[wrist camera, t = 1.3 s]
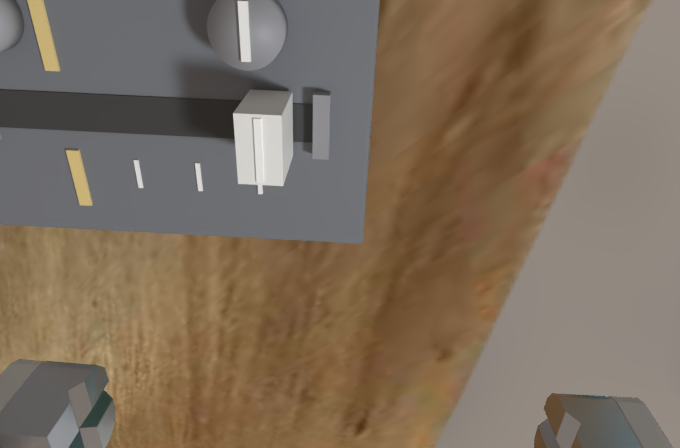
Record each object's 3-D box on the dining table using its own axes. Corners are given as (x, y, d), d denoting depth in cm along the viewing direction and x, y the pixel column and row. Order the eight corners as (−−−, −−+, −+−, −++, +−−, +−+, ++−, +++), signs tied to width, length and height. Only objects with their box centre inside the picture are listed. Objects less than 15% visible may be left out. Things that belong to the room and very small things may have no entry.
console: (-63, -52, 29) (-140, -49, 25) (380, -33, 29) (383, -26, 24) (20, 204, 38) (-26, 240, 33) (362, 222, 37) (362, 261, 33)
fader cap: (250, 89, 29) (232, 113, 25) (292, 91, 29) (281, 116, 25) (253, 152, 31) (237, 184, 27) (293, 154, 31) (283, 186, 27)
